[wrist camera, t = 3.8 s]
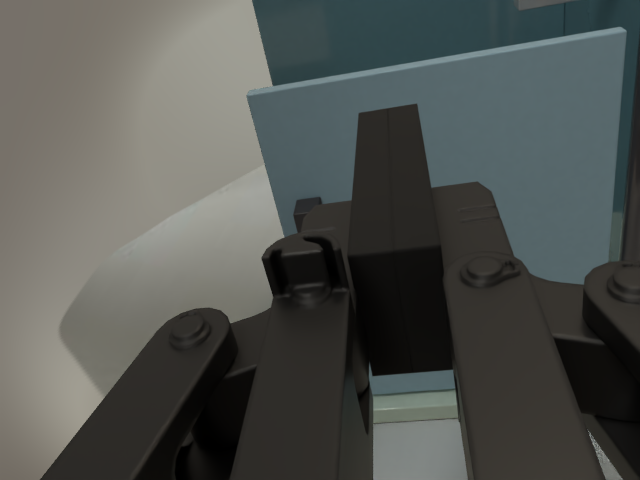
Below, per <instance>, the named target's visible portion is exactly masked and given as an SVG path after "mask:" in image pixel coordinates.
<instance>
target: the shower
mask: <svg viewBox="0 0 640 480" xmlns="http://www.w3.org/2000/svg"><path fill="white" fill-rule="evenodd" d="M252 2H253V6H254V10H255V14H256V19H257V22H258V27H259V31H260V35H261V39H262V43H263V47H264V51H265V55H266V59H267V64H268V68H269V72H270V76H271V80H272V84H273V86H277V85H283V84H289V83H295V82H301V81H307V80H312V79H318V78H324V77H330V76H336V75H342V74H347V73H353V72H359V71H365V70H371V69H377V68H382V67H388V66H394V65H400V64H406V63H412V62H417V61H423V60H429V59H435V58H441V57H447V56H452V55H458V54H464V53H470V52H476V51H482V50H487V49H493V48H499V47H505V46H511V45H517V44H522V43H528V42H534V41H540V40H546V39H552V38H557V37H563V36H569V35H575V34H581V33H587V32H592V31H598V30H604V29H610V28H616V27H622V28H623V29H625V30H626V31H627V35H626V48H625V60H624V73H623V85H622V98H621V110H620V123H619V135H618V148H617V160H616V173H615V185H614V198H613V210H612V223H611V235H610V248H609V260H608V262H615V261H623V260H629V261H640V0H252ZM449 418H458V410H457V401H456V392H455V389H443V390H430V391H416V392H402V393H388V394H375V395H373V423H386V422H402V421H417V420H433V419H449Z"/></svg>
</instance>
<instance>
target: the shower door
mask: <svg viewBox="0 0 640 480" xmlns="http://www.w3.org/2000/svg"><path fill="white" fill-rule="evenodd" d="M626 35H627V31H626V30H625V29H623V28H622V27H616V28H610V29H604V30H598V31H592V32H587V33H581V34H575V35H569V36H563V37H557V38H552V39H546V40H540V41H534V42H528V43H522V44H517V45H511V46H505V47H499V48H493V49H487V50H482V51H476V52H470V53H464V54H458V55H452V56H447V57H441V58H435V59H429V60H423V61H417V62H412V63H406V64H400V65H394V66H388V67H382V68H377V69H371V70H365V71H359V72H353V73H347V74H342V75H336V76H330V77H324V78H318V79H312V80H307V81H301V82H295V83H289V84H283V85H277V86H272V87H266V88H260V89H254V90H250V91H249V92H248V94H247V100H248V103H249V107H250V111H251V115H252V118H253V122H254V126H255V130H256V133H257V137H258V140H259V144H260V148H261V152H262V156H263V159H264V163H265V167H266V170H267V174H268V178H269V181H270V185H271V189H272V193H273V196H274V200H275V204H276V207H277V211H278V215H279V218H280V222H281V226H282V230H283V233H284V237H287V236H289V235H292V234H296V233H301V228H302V223H303V218H304V217H305V216H306V215H307V214H308V213H309V212H310V210H311V209H312V208H313V207H314V206H315V205H320V204H328V203H335V202H342V201H350V200H352V189H353V177H354V164H355V152H356V140H357V127H358V115H359V113H361V112H367V111H373V110H379V109H386V108H392V107H398V106H404V105H410V104H416V103H417V105H418V111H419V117H420V123H421V129H422V135H423V141H424V146H425V152H426V158H427V164H428V170H429V176H430V182H431V188H432V187H440V186H447V185H454V184H462V183H469V182H476V181H478V182H479V183H480V184H482V185H483V186H485V187H486V188H487V189H489V190H490V191H492V194H493V197H494V200H495V203H496V207H497V208H498V211H499V214H500V218H501V220H502V223H503V225H504V228H505V231H506V234H507V237H508V240H509V242H510V245H511V248H512V251H513V254H514V257H516V258H518V259H520V260H521V261H522V262H523V263H524V265H525V266H526V267H527V269H528V271H529V273H531V274H532V275H534V276H536V277H539V278H543V279H546V280H549V281H556V282H562V283H572V284H583V285H584V280H585V276H586V275H587V274H588V273H589V272H590V271H591V270H592V269H593V268H595V267H598V266H600V265H603V264H605V263H608V260H609V248H610V235H611V223H612V210H613V198H614V185H615V173H616V160H617V148H618V135H619V123H620V110H621V98H622V85H623V73H624V60H625V48H626ZM369 381H370V385H371V390H372V395H375V394H388V393H402V392H416V391H430V390H443V389H455V383H454V374H453V370H445V371H432V372H420V373H408V374H395V375H383V376H372V372H371V367H370V362H369Z"/></svg>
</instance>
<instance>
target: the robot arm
mask: <svg viewBox="0 0 640 480" xmlns="http://www.w3.org/2000/svg"><path fill="white" fill-rule="evenodd" d="M262 261H263V265H264V268H265V271H266V275H267V278H268V281H269V284H270V288H271V291H272V294H273V301H272V305H271V308H269V309H268V310H266V311H264V312H262V313H260V314H257V315H255V316H252V317H249V318H246V319H243V320H240V321H237V322H234V323H231V324H230V322H229V319H228V317H227V316H226V315H225V314H224V313H223V312H222V311H220V310H217V309H212V308H199V309H193V310H190V311H186V312H184V313H181V314H179V315H177V316H176V317H174V318H172V319H170V320H169V321H167V322H166V323H165V324H164V325H163V326H162V327H161V328H160V329H159V330H158V331H157V332H156V333H155V334H154V336H153V337H152V338H151V340H150V341H149V342H148V343H147V345H146V346H145V347H144V348H143V350H142V351H141V352H140V353H139V355H138V356H137V357H136V359H135V360H134V361H133V362H132V364H131V365H130V366H129V367H128V369H127V370H126V371H125V373H124V374H123V375H122V376H121V378H120V379H119V380H118V381H117V383H116V384H115V385H114V386H113V388H112V389H111V390H110V392H109V393H108V394H107V395H106V397H105V398H104V399H103V400H102V402H101V403H100V404H99V406H98V407H97V408H96V410H95V411H94V412H93V413H92V414H91V416H90V417H89V418H88V420H87V421H86V422H85V423H84V425H83V426H82V427H81V428H80V430H79V431H78V432H77V433H76V435H75V436H74V437H73V439H72V440H71V441H70V443H69V444H68V445H67V446H66V448H65V449H64V450H63V451H62V453H61V454H60V455H59V456H58V458H57V459H56V460H55V462H54V463H53V464H52V465H51V467H50V468H49V469H48V470H47V472H46V473H45V474H44V475H43V477H42V478H41V479H40V480H373V395H372V390H371V385H370V381H369V362H370V367H371V372H372V376H383V375H395V374H408V373H420V372H432V371H445V370H453V374H454V383H455V392H456V401H457V410H458V419H459V422H460V427H461V433H462V440H463V447H464V454H465V461H466V468H467V475H468V480H606V479H605V476H604V474H603V471H602V468H601V466H600V463H599V460H598V458H597V455H596V452H595V449H594V447H593V444H592V441H591V439H590V436H589V433H588V430H589V432H590V433H591V435H592V436H593V437H594V439H595V440H596V442H597V443H598V445H599V446H600V447H601V449H602V450H603V452H604V453H605V454H606V456H607V457H608V459H609V460H610V462H611V463H612V464H613V466H614V467H615V469H616V470H617V472H618V473H619V474H620V476H621V477H622V479H623V480H640V261H629V260H623V261H615V262H608V263H605V264H603V265H600V266H598V267H595V268H593V269H592V270H591V271H590V272H589V273H588V274H587V275H586V276H585V280H584V285H583V284H572V283H562V282H556V281H549V280H546V279H543V278H539V277H536V276H534V275H532V274H531V273H529V271H528V269H527V267H526V266H525V265H524V263H523V262H522V261H521V260H520V259H518V258H516V257H514V254H513V251H512V248H511V245H510V242H509V240H508V237H507V234H506V231H505V228H504V225H503V223H502V220H501V218H500V214H499V211H498V208H497V207H496V203H495V200H494V197H493V194H492V191H490V190H489V189H487V188H486V187H485V186H483V185H482V184H480V183H479V182H478V181H476V182H469V183H462V184H454V185H447V186H440V187H432V188H431V182H430V176H429V170H428V164H427V158H426V152H425V146H424V141H423V135H422V129H421V123H420V117H419V111H418V105H417V103H416V104H410V105H404V106H398V107H392V108H386V109H379V110H373V111H367V112H361V113H359V115H358V127H357V140H356V152H355V164H354V177H353V189H352V200H350V201H342V202H335V203H328V204H320V205H315V206H314V207H313V208H312V209H311V210H310V212H309V213H308V214H307V215H306V216H305V217H304V218H303V223H302V228H301V233H296V234H292V235H289V236H287V237H285V238H282V239H280V240H278V241H276V242H275V243H274V244H272V245H271V246H270V247H269V248H267V249H266V251H265V253H264V254H263V256H262ZM586 427H587V428H586ZM587 429H588V430H587Z"/></svg>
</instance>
